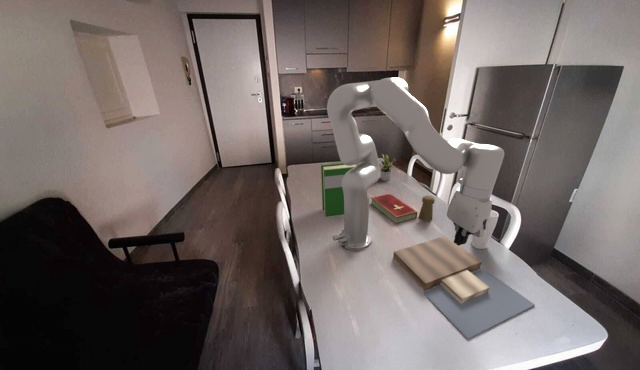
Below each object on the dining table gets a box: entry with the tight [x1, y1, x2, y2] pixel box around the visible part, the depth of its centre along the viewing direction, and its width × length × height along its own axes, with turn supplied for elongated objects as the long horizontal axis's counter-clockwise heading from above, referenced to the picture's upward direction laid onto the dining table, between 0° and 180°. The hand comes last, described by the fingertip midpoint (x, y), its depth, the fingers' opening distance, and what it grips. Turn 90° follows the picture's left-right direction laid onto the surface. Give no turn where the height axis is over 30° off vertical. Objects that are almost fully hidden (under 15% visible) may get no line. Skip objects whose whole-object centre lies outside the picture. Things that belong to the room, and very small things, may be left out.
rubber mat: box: [422, 267, 535, 340], centre depth 74 cm, size 26×16×1 cm, turn 111°
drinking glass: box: [470, 208, 500, 250], centre depth 93 cm, size 7×7×15 cm
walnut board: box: [392, 235, 483, 291], centre depth 88 cm, size 24×16×3 cm, turn 111°
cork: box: [418, 195, 436, 222], centre depth 113 cm, size 6×6×11 cm
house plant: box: [377, 153, 396, 182], centre depth 155 cm, size 14×14×16 cm
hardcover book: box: [370, 193, 418, 224], centre depth 122 cm, size 12×21×4 cm, turn 22°
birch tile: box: [439, 270, 490, 303], centre depth 77 cm, size 11×8×2 cm
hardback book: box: [320, 162, 357, 218], centre depth 119 cm, size 18×7×24 cm, turn 101°
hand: (459, 242), depth 76 cm, fingers closed
